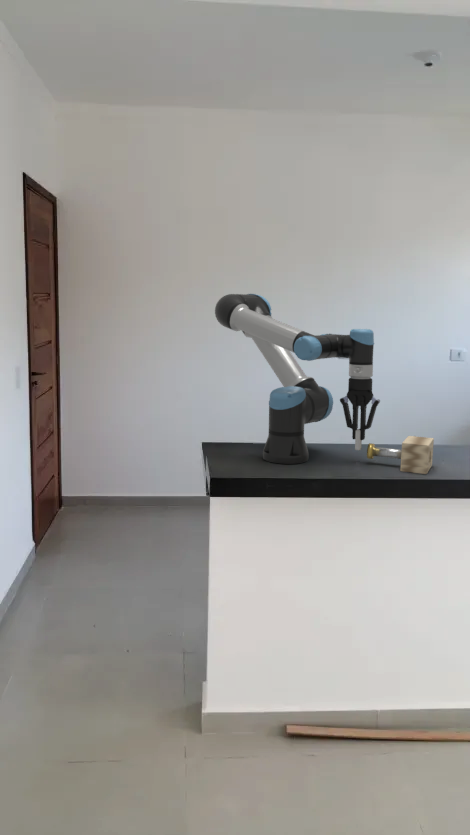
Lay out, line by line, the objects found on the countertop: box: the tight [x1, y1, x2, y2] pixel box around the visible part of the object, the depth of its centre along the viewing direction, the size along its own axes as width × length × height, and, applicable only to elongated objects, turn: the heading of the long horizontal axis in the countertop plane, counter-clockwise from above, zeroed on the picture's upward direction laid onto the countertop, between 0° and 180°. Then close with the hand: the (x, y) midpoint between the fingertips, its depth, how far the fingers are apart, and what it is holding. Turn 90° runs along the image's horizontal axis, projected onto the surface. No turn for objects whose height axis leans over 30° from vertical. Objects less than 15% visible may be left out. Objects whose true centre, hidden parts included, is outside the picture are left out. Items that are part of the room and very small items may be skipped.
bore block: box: [400, 435, 435, 475], centre depth 220 cm, size 8×12×9 cm, turn 157°
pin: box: [366, 442, 402, 460], centre depth 223 cm, size 14×5×5 cm, turn 67°
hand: (358, 449), depth 227 cm, fingers closed
